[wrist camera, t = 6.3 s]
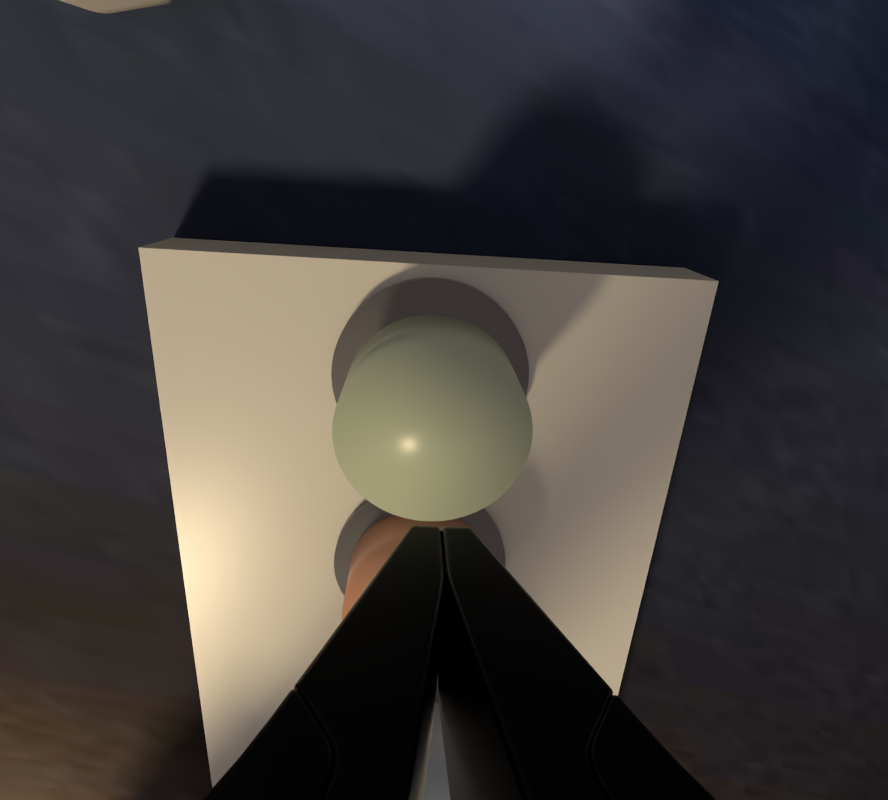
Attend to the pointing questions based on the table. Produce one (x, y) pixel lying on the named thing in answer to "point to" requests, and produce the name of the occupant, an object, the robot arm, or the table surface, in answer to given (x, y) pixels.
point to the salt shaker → (115, 4)
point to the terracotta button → (380, 551)
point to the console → (333, 497)
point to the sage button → (432, 420)
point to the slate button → (437, 764)
